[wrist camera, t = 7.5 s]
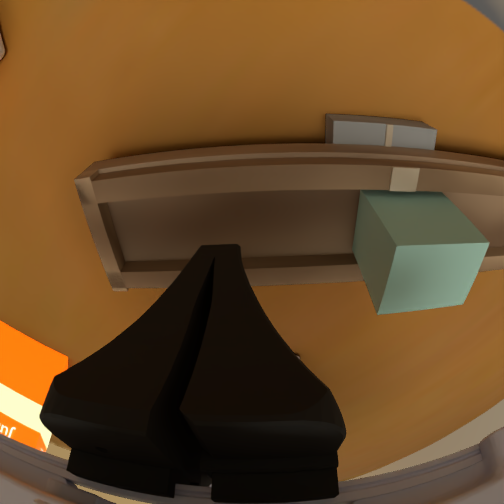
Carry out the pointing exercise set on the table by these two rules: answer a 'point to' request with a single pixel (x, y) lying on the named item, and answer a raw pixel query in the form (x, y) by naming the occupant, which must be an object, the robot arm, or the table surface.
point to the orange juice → (25, 386)
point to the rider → (415, 250)
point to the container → (1, 48)
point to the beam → (276, 201)
